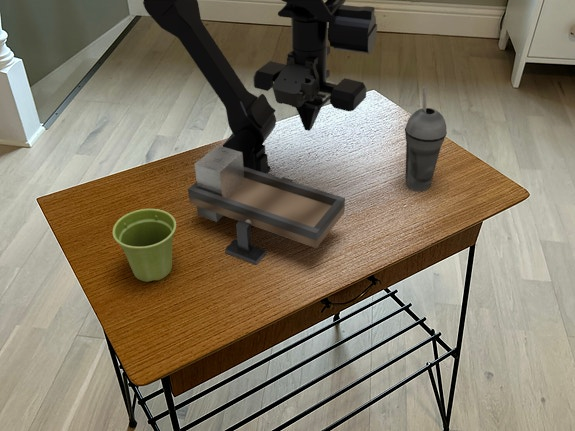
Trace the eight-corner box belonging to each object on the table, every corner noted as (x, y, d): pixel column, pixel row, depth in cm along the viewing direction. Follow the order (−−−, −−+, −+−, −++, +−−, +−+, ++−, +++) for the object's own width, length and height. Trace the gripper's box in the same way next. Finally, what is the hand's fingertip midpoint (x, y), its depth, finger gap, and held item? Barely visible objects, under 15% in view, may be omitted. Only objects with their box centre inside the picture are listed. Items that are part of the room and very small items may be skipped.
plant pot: (149, 242, 102) (141, 201, 96) (194, 261, 98) (188, 219, 93) (110, 276, 96) (99, 234, 90) (156, 298, 92) (147, 255, 86)
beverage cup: (437, 197, 110) (454, 98, 98) (396, 193, 112) (409, 95, 99) (437, 175, 116) (454, 78, 104) (399, 171, 117) (411, 75, 105)
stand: (225, 252, 99) (222, 223, 96) (276, 199, 111) (275, 171, 107) (256, 264, 97) (254, 235, 93) (305, 208, 108) (305, 180, 104)
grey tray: (189, 220, 104) (184, 191, 100) (227, 185, 111) (224, 157, 108) (313, 265, 94) (314, 236, 90) (345, 224, 102) (347, 195, 98)
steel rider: (198, 194, 102) (194, 164, 98) (220, 174, 106) (217, 145, 103) (223, 202, 100) (219, 172, 96) (244, 182, 104) (242, 152, 101)
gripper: (232, 51, 95) (238, 137, 105) (340, 76, 88) (336, 166, 98) (268, 27, 103) (271, 109, 112) (370, 48, 95) (364, 134, 105)
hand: (308, 129), depth 107 cm, fingers closed
